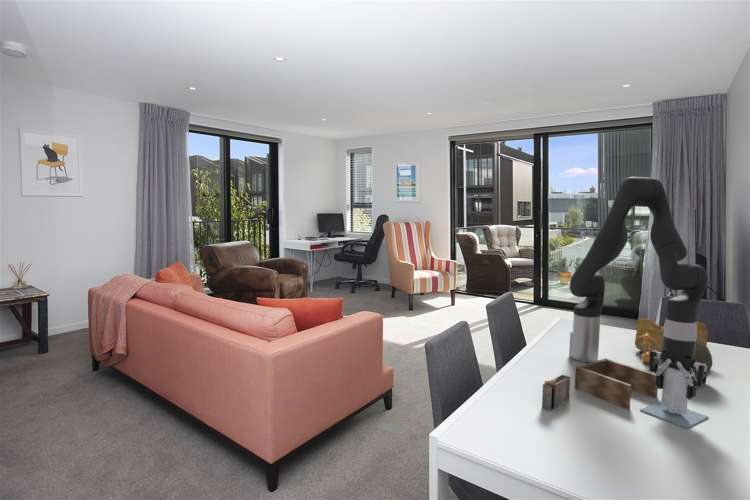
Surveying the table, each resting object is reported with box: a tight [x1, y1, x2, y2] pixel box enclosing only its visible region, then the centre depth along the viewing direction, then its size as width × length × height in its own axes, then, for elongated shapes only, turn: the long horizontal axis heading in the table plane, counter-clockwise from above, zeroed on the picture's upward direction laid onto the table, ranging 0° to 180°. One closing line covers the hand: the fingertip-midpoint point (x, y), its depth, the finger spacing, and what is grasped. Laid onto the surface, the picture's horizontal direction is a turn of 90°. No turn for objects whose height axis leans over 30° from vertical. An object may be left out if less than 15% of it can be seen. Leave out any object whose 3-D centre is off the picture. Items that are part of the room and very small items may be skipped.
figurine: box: [634, 333, 660, 364], centre depth 165 cm, size 8×6×12 cm
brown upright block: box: [541, 374, 571, 412], centre depth 131 cm, size 11×3×10 cm, turn 131°
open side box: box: [574, 358, 659, 410], centre depth 140 cm, size 17×16×7 cm
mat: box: [639, 400, 710, 430], centre depth 126 cm, size 12×12×1 cm
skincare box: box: [661, 367, 690, 414], centre depth 125 cm, size 6×4×12 cm
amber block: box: [634, 318, 709, 353], centre depth 176 cm, size 23×17×15 cm
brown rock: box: [660, 338, 713, 380], centre depth 150 cm, size 14×14×15 cm
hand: (675, 393), depth 125 cm, fingers closed on skincare box, 7 cm apart
